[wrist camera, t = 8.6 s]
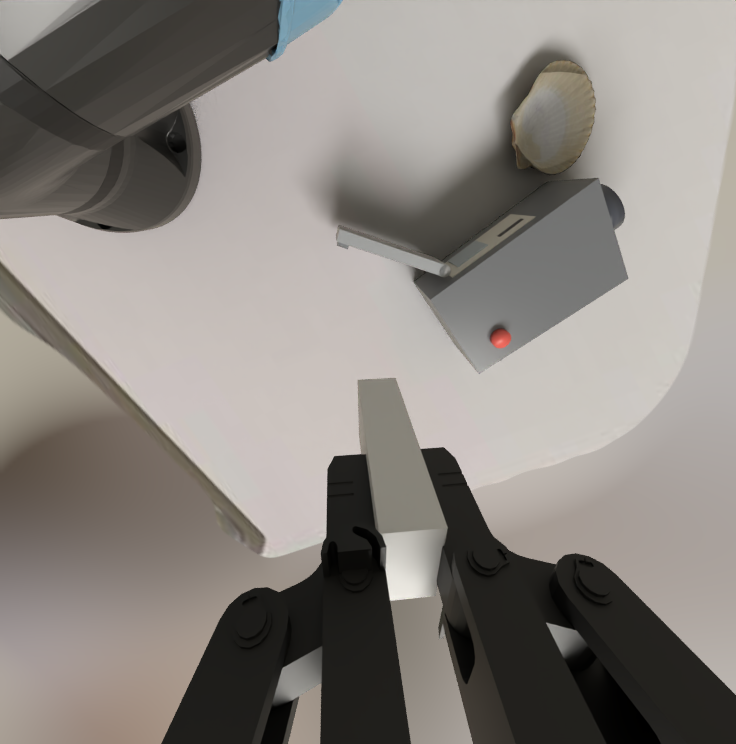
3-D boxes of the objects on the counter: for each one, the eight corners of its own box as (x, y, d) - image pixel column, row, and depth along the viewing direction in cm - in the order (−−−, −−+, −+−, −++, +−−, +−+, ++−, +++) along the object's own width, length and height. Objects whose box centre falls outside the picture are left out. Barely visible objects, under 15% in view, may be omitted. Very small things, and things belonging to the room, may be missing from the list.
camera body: (412, 280, 35) (431, 300, 28) (566, 165, 31) (630, 156, 24) (456, 346, 40) (481, 377, 33) (595, 253, 36) (656, 266, 29)
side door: (431, 272, 34) (445, 283, 30) (334, 240, 31) (335, 247, 27) (437, 257, 33) (453, 267, 29) (338, 224, 31) (340, 228, 26)
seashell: (569, 155, 33) (585, 47, 27) (594, 159, 30) (618, 42, 25) (498, 185, 32) (500, 80, 27) (518, 190, 30) (525, 77, 24)
